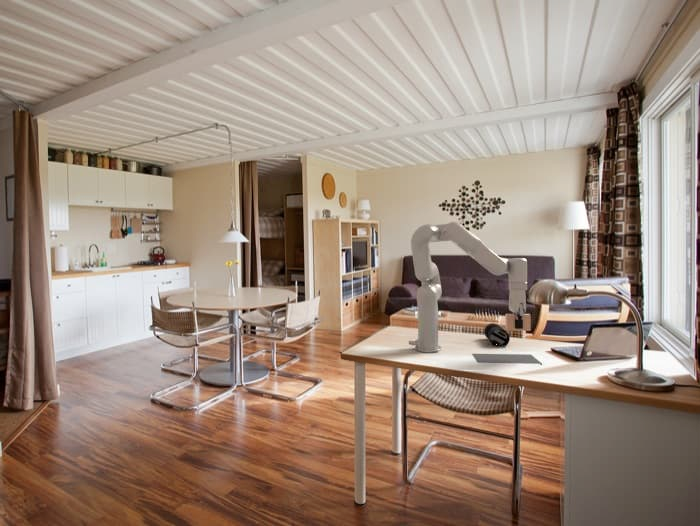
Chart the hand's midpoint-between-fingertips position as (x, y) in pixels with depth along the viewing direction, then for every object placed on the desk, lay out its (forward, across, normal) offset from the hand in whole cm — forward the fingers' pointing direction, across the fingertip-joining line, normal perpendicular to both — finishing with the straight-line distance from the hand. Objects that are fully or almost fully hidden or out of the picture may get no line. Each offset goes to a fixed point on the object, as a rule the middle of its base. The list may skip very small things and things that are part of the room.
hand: (517, 327), depth 180 cm
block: (+1, 0, 0) cm, 1 cm away
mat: (+13, +3, -6) cm, 15 cm away
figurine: (+14, -27, -3) cm, 31 cm away
